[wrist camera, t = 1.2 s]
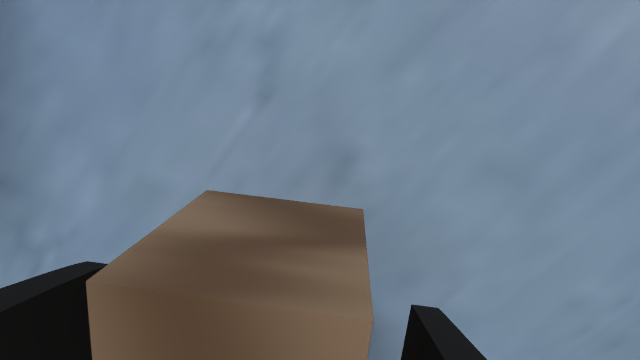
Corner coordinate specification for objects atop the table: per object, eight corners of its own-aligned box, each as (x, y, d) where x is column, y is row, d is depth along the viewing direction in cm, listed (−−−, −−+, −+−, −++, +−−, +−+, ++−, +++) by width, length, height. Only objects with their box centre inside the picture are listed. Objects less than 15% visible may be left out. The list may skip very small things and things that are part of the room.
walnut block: (362, 208, 10) (372, 320, 5) (344, 342, 11) (339, 531, 7) (207, 189, 10) (85, 281, 6) (205, 322, 12) (103, 491, 7)
